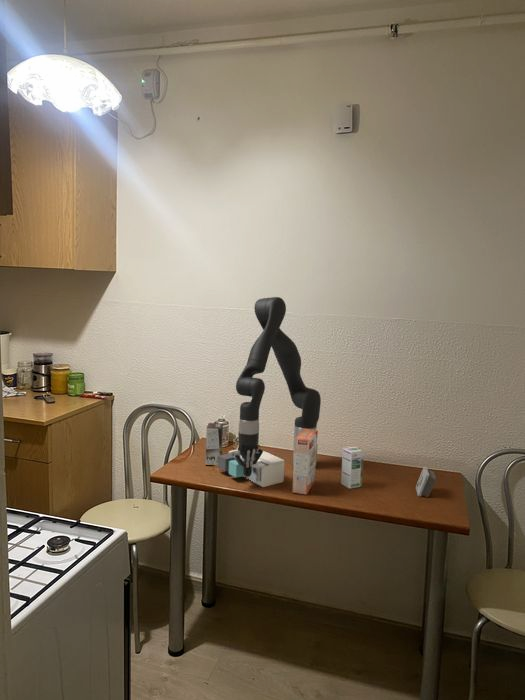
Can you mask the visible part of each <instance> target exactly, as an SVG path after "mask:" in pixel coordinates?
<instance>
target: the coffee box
mask: <svg viewBox="0 0 525 700" xmlns="http://www.w3.org/2000/svg"><path fill="white" fill-rule="evenodd" d="M206 426H207V427H206V431H205V432H206V433H205V434H206V435H205V436H206V439H205V440H206V442H205V464H213V465H218V456H219V455H223V442H224V441H223V439H224V438H223V437H224V436H223V435H224V423H223V422H209V423H208V424H207V425H206Z"/></svg>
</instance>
